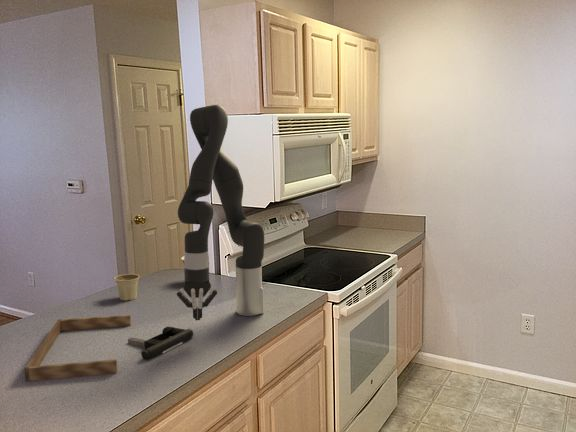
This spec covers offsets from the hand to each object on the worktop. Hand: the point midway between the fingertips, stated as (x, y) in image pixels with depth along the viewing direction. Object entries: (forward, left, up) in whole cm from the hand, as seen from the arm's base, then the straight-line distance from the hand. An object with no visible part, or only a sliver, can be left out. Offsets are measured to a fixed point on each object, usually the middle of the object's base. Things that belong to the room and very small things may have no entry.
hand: (197, 319), depth 159 cm
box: (+33, 0, -7) cm, 34 cm away
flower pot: (+26, -47, -7) cm, 54 cm away
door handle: (+13, 0, -7) cm, 15 cm away
